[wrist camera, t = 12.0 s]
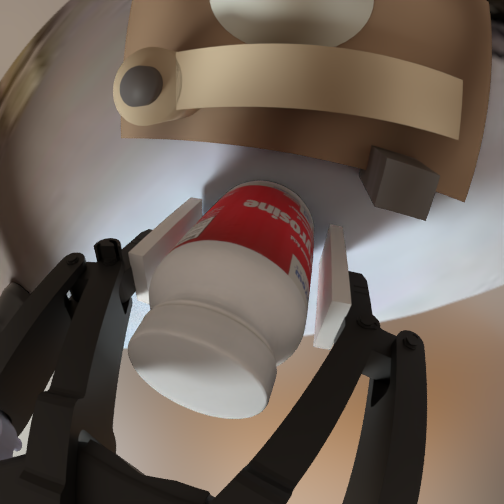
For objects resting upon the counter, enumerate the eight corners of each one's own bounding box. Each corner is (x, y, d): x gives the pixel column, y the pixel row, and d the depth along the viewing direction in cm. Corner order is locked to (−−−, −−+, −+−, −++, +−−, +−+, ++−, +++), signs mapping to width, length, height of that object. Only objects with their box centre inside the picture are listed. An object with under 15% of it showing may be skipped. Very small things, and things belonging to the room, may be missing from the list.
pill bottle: (334, 239, 16) (334, 415, 7) (258, 282, 19) (204, 430, 10) (270, 155, 14) (173, 271, 5) (197, 215, 17) (85, 341, 8)
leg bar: (150, 121, 13) (107, 132, 10) (148, 60, 11) (104, 57, 8) (429, 141, 10) (463, 157, 7) (434, 72, 8) (470, 66, 5)
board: (135, 144, 15) (85, 163, 12) (155, -37, 8) (112, -59, 4) (450, 203, 13) (486, 241, 9) (477, 6, 5) (516, -9, 1)
